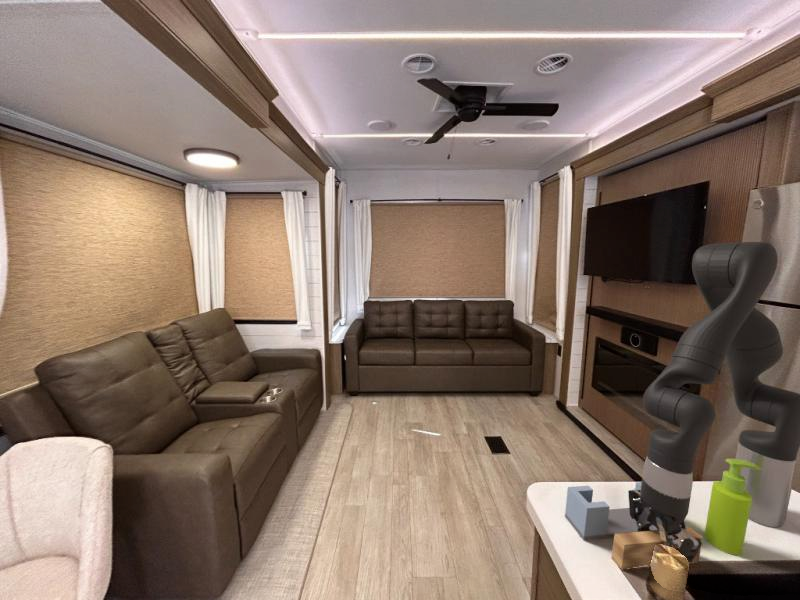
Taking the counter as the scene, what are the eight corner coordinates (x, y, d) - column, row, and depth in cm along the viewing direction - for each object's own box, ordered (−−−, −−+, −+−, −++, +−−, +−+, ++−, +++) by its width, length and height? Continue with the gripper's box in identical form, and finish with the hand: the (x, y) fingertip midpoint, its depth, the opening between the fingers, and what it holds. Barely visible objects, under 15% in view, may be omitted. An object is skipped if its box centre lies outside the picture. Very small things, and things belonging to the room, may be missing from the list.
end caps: (651, 509, 78) (655, 480, 77) (677, 531, 72) (682, 500, 71) (564, 516, 75) (567, 486, 74) (583, 540, 69) (587, 508, 68)
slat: (686, 551, 67) (690, 527, 66) (698, 563, 64) (702, 537, 64) (611, 559, 65) (614, 533, 64) (621, 570, 62) (624, 544, 62)
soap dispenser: (756, 559, 65) (772, 473, 63) (717, 552, 67) (732, 468, 64) (732, 535, 71) (746, 455, 69) (697, 529, 72) (710, 451, 70)
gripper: (722, 509, 56) (708, 590, 58) (650, 459, 70) (640, 526, 72) (686, 512, 55) (673, 595, 57) (620, 461, 69) (612, 528, 71)
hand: (655, 556), depth 65 cm, fingers open, 5 cm apart
